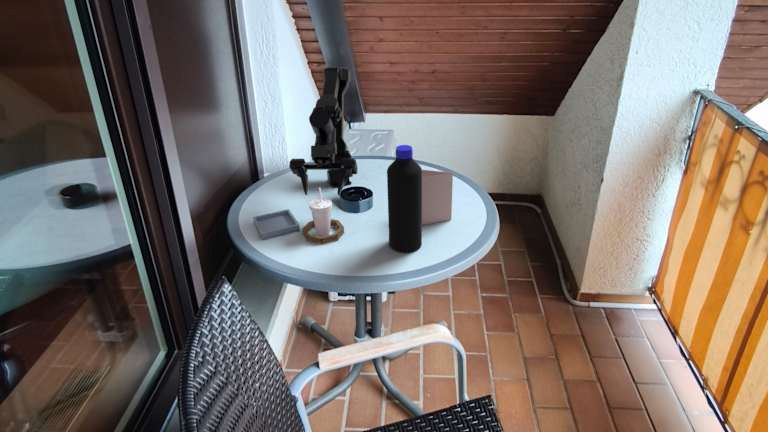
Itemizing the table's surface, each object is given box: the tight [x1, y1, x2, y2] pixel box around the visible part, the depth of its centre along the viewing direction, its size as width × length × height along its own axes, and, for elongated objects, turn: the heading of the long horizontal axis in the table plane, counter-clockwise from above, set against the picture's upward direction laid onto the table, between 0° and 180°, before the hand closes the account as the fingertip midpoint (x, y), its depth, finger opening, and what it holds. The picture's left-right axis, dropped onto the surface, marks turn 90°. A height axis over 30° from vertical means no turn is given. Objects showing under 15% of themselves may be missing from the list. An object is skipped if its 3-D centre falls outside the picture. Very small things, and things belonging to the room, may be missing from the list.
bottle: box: [386, 144, 423, 254], centre depth 140 cm, size 9×9×28 cm
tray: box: [252, 208, 301, 241], centre depth 157 cm, size 11×11×2 cm
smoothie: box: [308, 187, 333, 237], centre depth 150 cm, size 6×6×14 cm
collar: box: [301, 218, 345, 245], centre depth 153 cm, size 11×11×2 cm
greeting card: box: [422, 169, 454, 226], centre depth 154 cm, size 11×7×15 cm, turn 72°
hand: (322, 194), depth 151 cm, fingers open, 9 cm apart
